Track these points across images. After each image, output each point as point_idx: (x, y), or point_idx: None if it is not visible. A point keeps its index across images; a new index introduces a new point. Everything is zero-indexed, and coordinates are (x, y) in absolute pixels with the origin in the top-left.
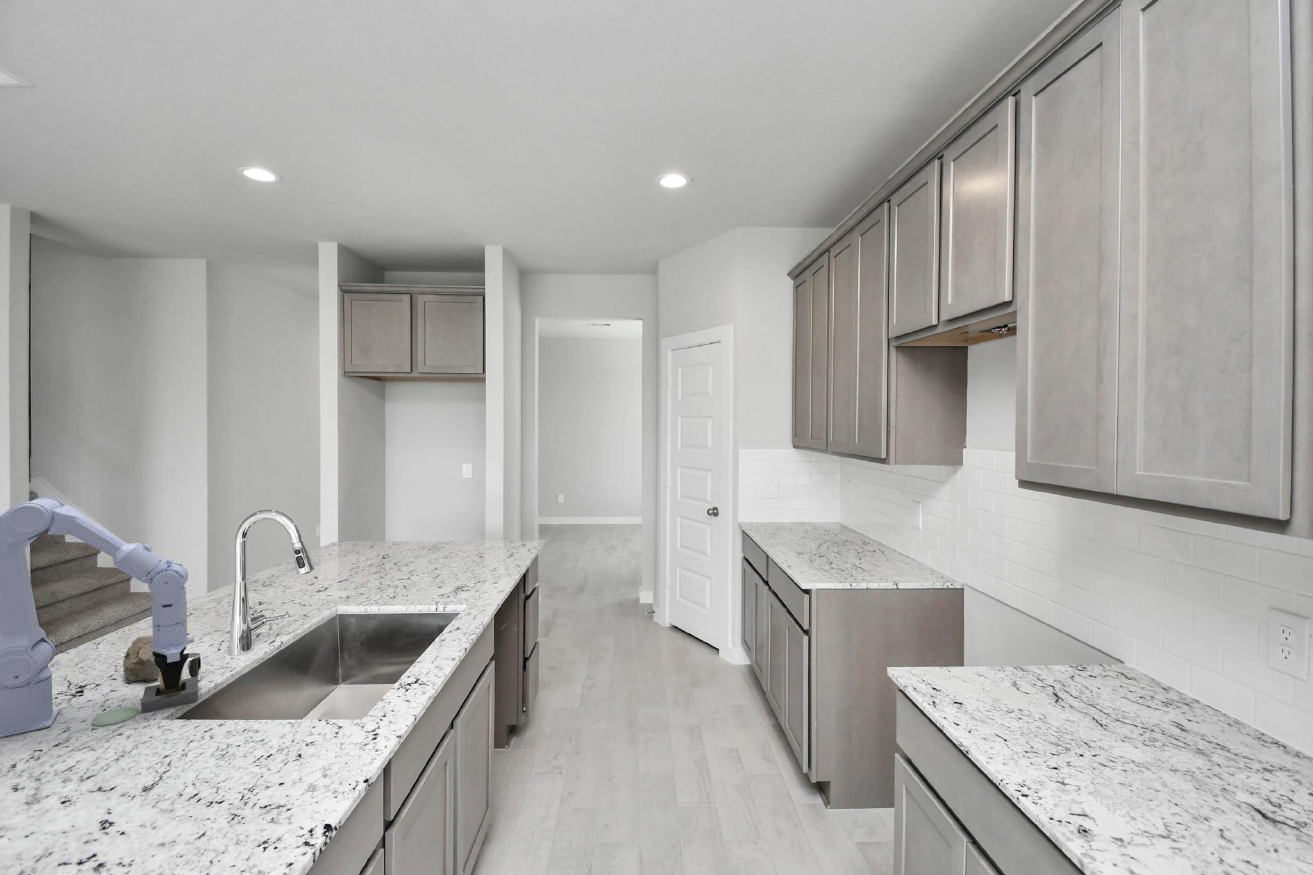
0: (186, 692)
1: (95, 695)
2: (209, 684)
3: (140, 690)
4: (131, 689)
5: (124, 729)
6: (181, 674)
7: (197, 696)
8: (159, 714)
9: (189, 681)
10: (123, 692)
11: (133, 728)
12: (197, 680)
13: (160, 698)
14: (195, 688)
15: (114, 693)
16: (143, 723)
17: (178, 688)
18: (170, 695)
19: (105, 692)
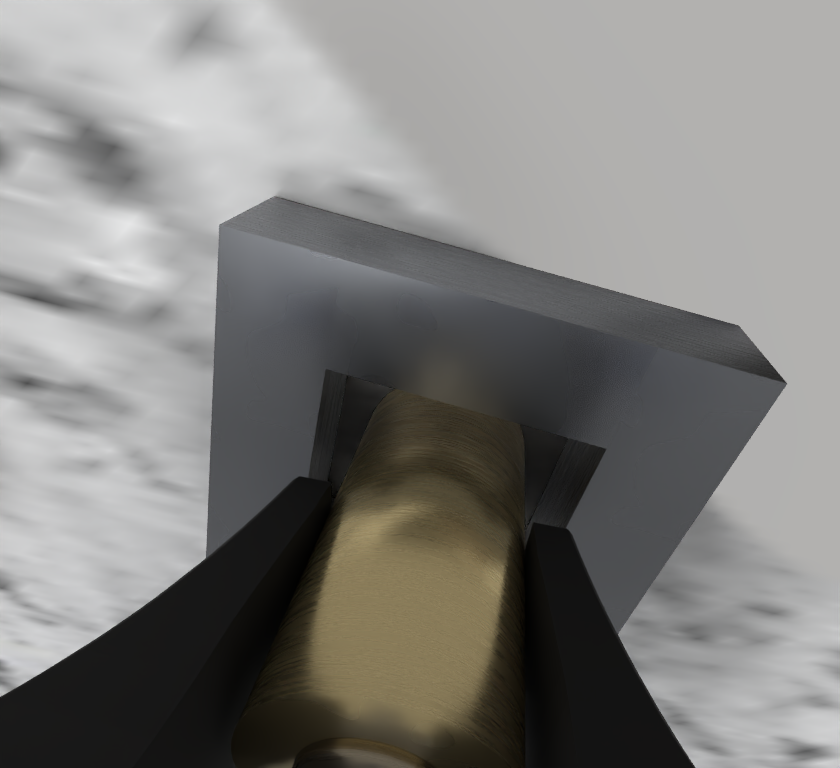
0: (697, 464)
1: (31, 639)
2: (304, 81)
3: (80, 507)
4: (28, 530)
5: (749, 725)
6: (441, 558)
7: (645, 305)
8: (710, 575)
9: (338, 343)
10: (61, 565)
11: (794, 706)
12: (378, 272)
13: (617, 623)
14: (664, 369)
15: (51, 592)
16: (773, 662)
17: (510, 487)
18: (621, 564)
19: (7, 607)
